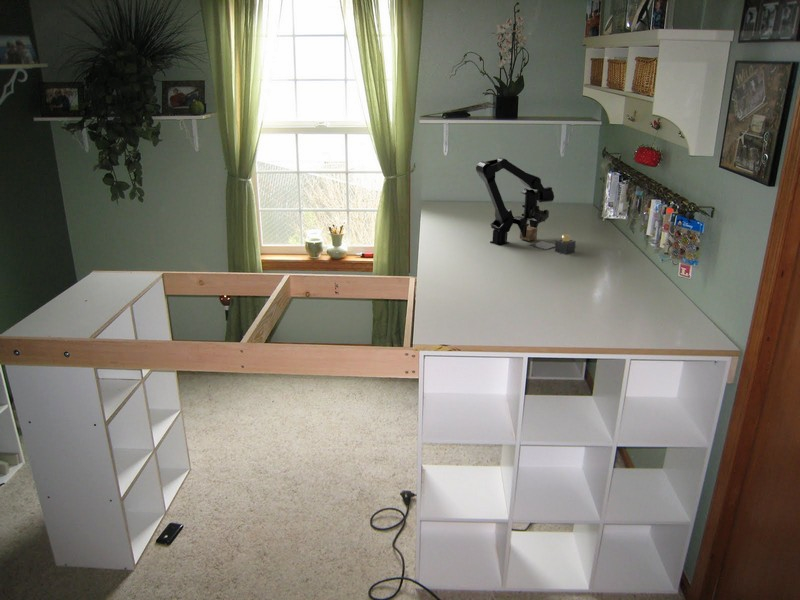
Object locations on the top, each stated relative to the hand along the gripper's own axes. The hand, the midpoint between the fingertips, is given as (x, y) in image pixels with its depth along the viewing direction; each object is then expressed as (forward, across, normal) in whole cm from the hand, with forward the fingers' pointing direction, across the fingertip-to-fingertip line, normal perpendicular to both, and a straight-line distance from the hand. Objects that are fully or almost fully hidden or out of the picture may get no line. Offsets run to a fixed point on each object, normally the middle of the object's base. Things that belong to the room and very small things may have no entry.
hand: (528, 236), depth 301 cm
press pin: (-1, -2, -22) cm, 23 cm away
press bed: (+2, -2, -11) cm, 11 cm away
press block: (+2, -2, -22) cm, 23 cm away
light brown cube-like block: (+1, 0, 0) cm, 1 cm away
